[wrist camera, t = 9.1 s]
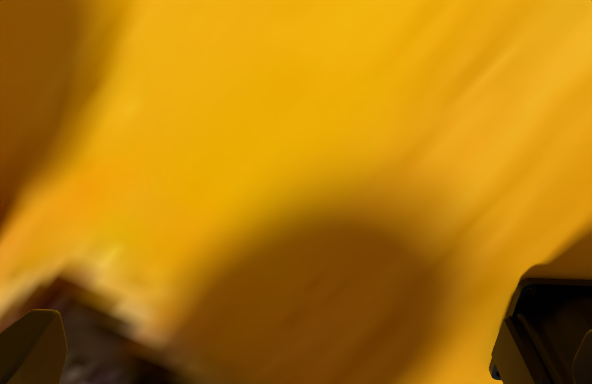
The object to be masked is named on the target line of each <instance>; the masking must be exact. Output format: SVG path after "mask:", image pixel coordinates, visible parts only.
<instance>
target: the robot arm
mask: <svg viewBox="0 0 592 384" xmlns="http://www.w3.org/2000/svg"><path fill="white" fill-rule="evenodd" d="M529 288H532V289H530V290H528V289H529ZM66 355H67V343H66V339H65V334H64V329H63V324H62V319H61V316H60V314H59V312H58V311H56V310H43V309H35V310H31V311H29V312H28V313H26V314H25V315H24V316H22V317H21V318H20V319H18V320H17V321H16V322H14V323H13V324H12V325H10V326H9V327H8V328H6V329H5V330H4V331H2V332H1V333H0V384H59V382H60V378H61V375H62V371H63V368H64V364H65V360H66ZM489 371H490V374H491V376H492V378H493V379H495V380H502V381H503V384H592V280H569V279H542V278H527V279H524V280H522V281H521V282H520V283H519V284H518V286H517V289H516V292H515V295H514V298H513V300H512V303H511V306H510V309H509V312H508V315H507V316H506V318H505V319H504V320H503V322H502V325H501V328H500V331H499V334H498V337H497V340H496V342H495V345H494V348H493V351H492V360H491V363H490V366H489Z"/></svg>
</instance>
